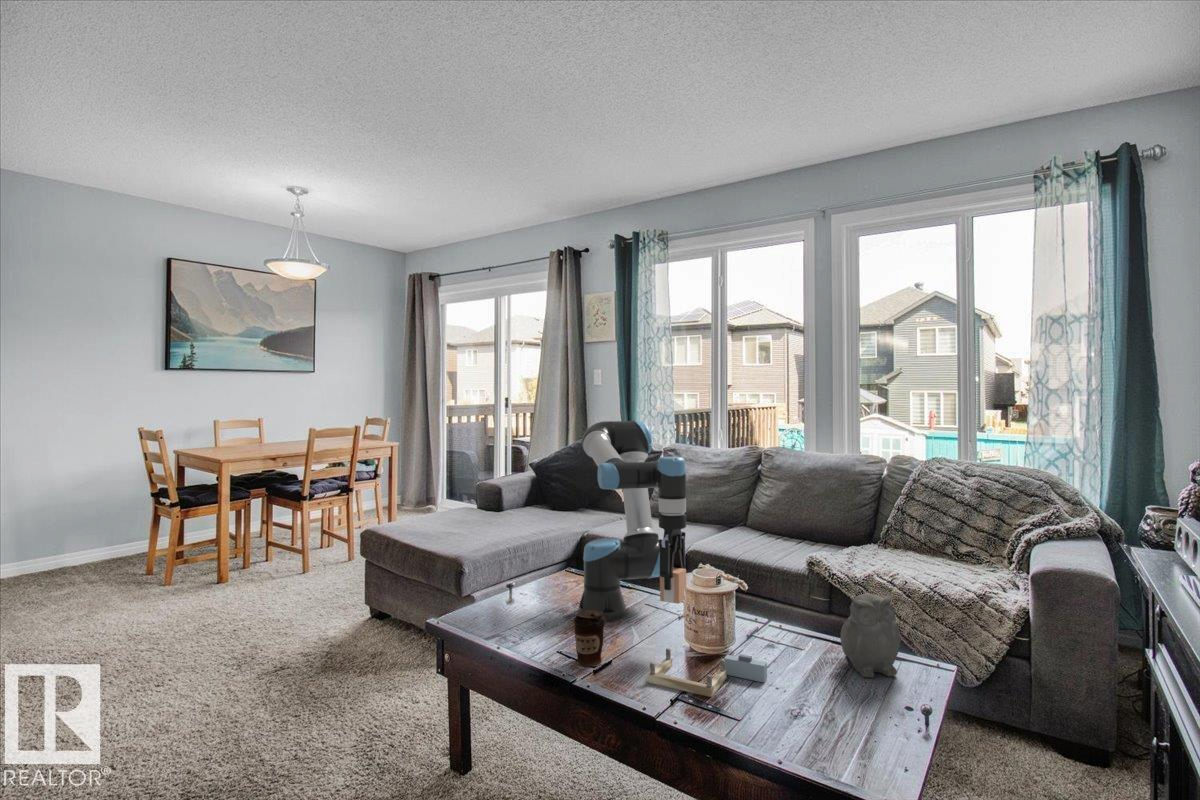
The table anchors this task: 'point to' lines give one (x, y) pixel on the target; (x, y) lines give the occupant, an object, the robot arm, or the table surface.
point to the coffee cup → (589, 637)
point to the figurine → (871, 635)
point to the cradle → (681, 684)
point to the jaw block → (675, 585)
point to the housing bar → (746, 667)
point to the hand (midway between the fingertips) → (673, 598)
